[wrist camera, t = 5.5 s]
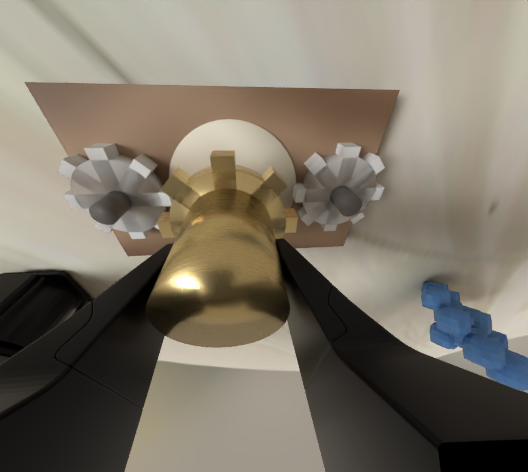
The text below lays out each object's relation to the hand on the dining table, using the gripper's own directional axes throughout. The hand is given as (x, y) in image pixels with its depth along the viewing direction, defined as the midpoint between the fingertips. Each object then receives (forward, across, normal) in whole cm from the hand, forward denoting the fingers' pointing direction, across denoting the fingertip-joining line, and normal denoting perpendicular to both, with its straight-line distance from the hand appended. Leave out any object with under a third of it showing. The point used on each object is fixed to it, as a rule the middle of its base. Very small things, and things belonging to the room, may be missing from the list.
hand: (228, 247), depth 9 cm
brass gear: (+2, 0, 0) cm, 3 cm away
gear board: (+8, 0, 0) cm, 8 cm away
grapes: (+8, -25, +16) cm, 31 cm away
